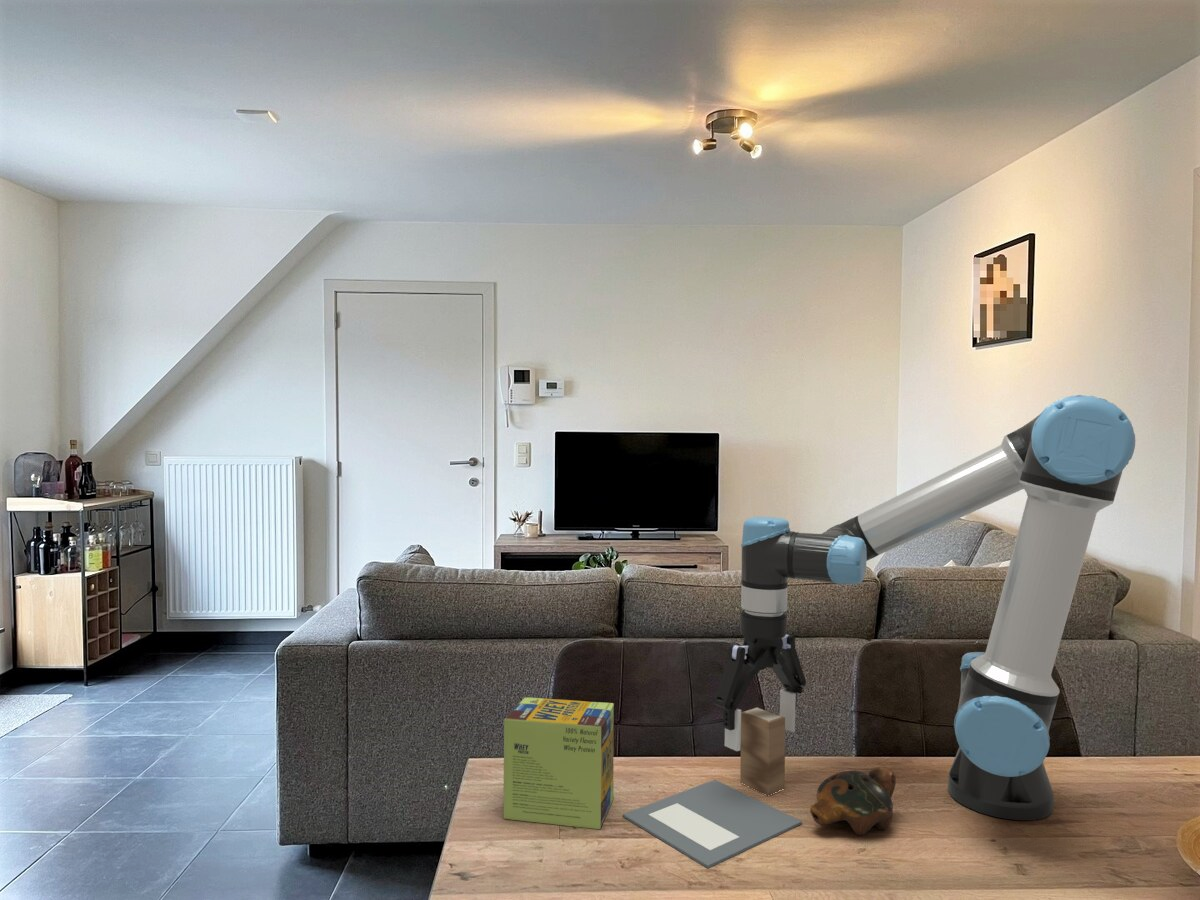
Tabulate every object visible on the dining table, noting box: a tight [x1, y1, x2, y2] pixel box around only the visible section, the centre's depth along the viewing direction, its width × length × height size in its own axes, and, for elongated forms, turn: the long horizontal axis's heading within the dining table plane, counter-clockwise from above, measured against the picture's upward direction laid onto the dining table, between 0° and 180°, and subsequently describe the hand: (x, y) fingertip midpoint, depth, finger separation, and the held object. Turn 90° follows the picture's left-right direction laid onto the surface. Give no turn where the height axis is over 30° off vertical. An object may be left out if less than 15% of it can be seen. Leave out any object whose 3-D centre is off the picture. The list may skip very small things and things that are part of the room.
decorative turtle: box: [809, 766, 897, 837], centre depth 118 cm, size 10×15×8 cm, turn 119°
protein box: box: [502, 697, 615, 830], centre depth 123 cm, size 10×15×16 cm
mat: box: [622, 779, 803, 869], centre depth 119 cm, size 18×20×1 cm
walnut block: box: [739, 706, 786, 796], centre depth 131 cm, size 6×4×12 cm, turn 38°
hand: (760, 738), depth 131 cm, fingers open, 13 cm apart
